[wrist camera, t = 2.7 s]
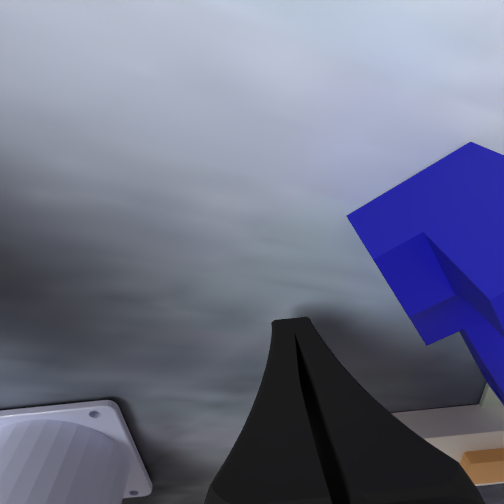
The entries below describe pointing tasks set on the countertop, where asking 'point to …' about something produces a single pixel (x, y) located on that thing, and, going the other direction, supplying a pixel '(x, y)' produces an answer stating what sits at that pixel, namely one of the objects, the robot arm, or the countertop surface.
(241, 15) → the countertop surface
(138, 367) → the countertop surface
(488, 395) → the mat
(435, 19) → the countertop surface
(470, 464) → the power strip
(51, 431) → the robot arm
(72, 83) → the countertop surface
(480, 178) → the cable clip
